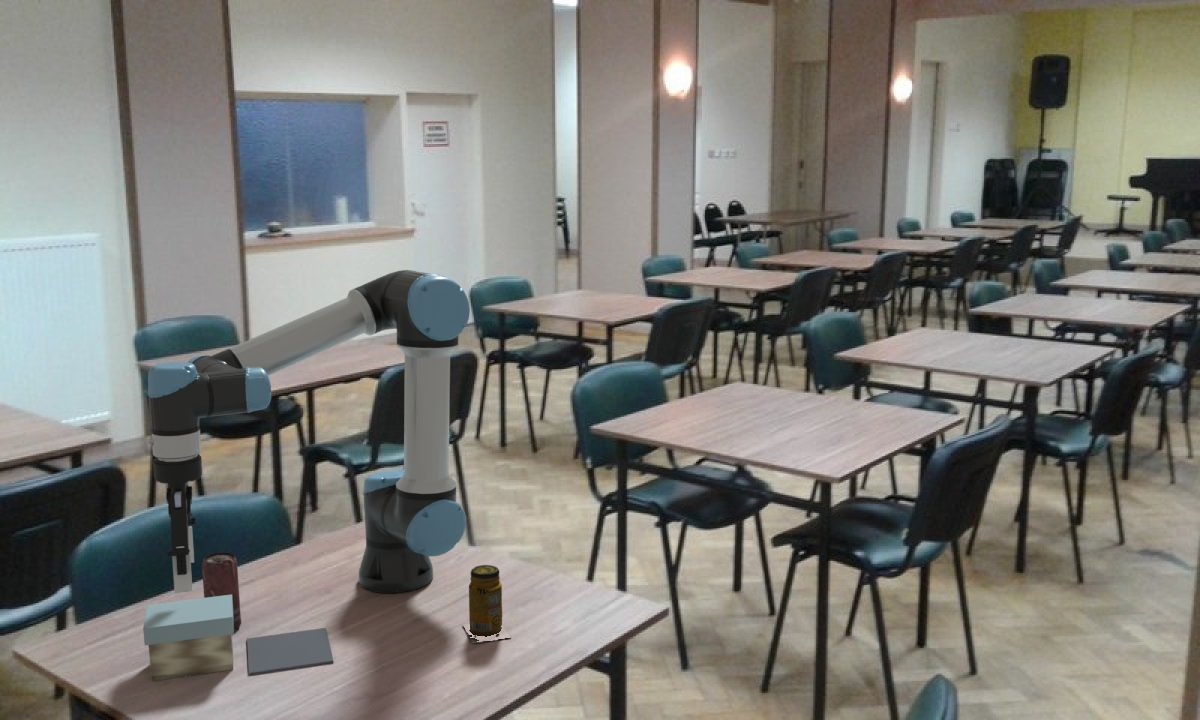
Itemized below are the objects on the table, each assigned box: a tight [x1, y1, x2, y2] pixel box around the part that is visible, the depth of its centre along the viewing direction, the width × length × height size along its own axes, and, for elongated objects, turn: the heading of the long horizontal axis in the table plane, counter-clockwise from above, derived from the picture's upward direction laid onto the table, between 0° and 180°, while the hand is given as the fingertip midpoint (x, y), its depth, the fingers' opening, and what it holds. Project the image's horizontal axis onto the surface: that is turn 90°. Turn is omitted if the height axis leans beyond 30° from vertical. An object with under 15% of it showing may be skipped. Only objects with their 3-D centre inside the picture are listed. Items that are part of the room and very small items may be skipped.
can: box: [201, 552, 242, 632], centre depth 201 cm, size 6×6×14 cm
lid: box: [142, 595, 235, 646], centre depth 186 cm, size 14×10×6 cm
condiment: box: [466, 564, 503, 644], centre depth 199 cm, size 7×8×12 cm
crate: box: [148, 634, 234, 682], centre depth 187 cm, size 13×8×7 cm, turn 109°
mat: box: [246, 627, 334, 676], centre depth 192 cm, size 14×14×1 cm
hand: (184, 576), depth 184 cm, fingers open, 13 cm apart
